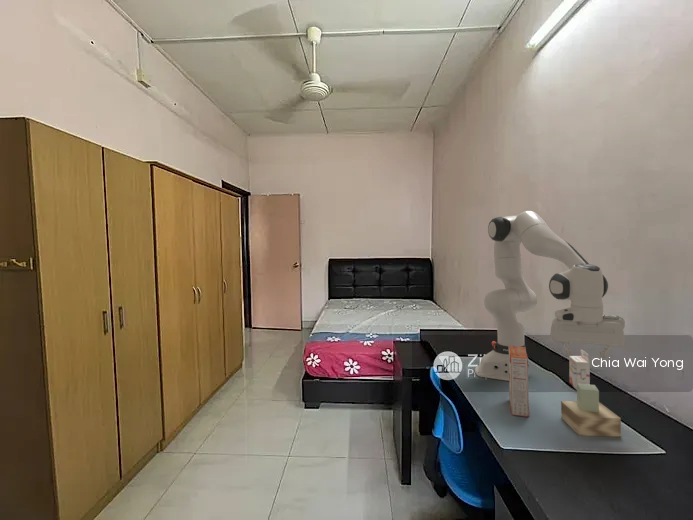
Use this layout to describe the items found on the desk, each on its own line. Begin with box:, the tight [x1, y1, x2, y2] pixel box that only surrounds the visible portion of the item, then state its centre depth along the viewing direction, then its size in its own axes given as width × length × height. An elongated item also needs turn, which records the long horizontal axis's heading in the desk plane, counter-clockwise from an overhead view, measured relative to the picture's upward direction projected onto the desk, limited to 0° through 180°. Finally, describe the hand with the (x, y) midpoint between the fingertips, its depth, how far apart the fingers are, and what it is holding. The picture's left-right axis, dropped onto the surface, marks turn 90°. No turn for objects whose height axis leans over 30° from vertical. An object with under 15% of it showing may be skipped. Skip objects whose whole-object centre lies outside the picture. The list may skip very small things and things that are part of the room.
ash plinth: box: [560, 400, 622, 437], centre depth 121 cm, size 12×12×6 cm
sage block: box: [576, 383, 600, 412], centre depth 121 cm, size 5×5×7 cm
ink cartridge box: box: [568, 349, 591, 391], centre depth 153 cm, size 9×5×15 cm, turn 168°
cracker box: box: [508, 346, 530, 418], centre depth 135 cm, size 14×6×21 cm, turn 159°
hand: (585, 356), depth 121 cm, fingers open, 8 cm apart
